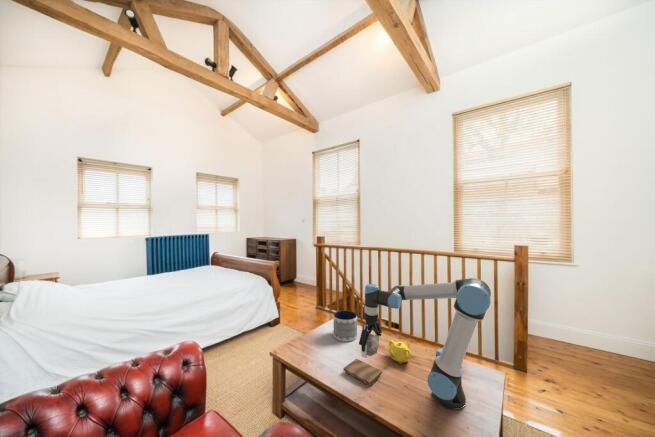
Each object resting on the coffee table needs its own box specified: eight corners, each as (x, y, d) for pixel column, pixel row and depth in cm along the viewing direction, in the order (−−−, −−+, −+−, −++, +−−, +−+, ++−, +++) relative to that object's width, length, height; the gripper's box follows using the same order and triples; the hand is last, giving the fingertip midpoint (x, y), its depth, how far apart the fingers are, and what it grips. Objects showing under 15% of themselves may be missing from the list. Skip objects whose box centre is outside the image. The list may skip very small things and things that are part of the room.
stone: (359, 359, 125) (359, 341, 125) (365, 346, 139) (365, 329, 139) (376, 363, 122) (376, 344, 122) (380, 349, 136) (380, 331, 136)
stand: (382, 376, 137) (382, 371, 137) (369, 388, 127) (369, 382, 127) (356, 363, 149) (356, 358, 149) (343, 373, 139) (343, 368, 139)
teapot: (399, 348, 166) (399, 332, 166) (421, 361, 151) (421, 343, 151) (378, 357, 155) (378, 340, 155) (400, 372, 140) (400, 353, 140)
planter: (350, 344, 171) (350, 321, 171) (329, 337, 181) (329, 316, 181) (361, 334, 186) (361, 313, 186) (340, 328, 196) (340, 308, 196)
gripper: (376, 305, 143) (376, 340, 143) (352, 317, 124) (351, 358, 124) (388, 308, 138) (387, 345, 138) (364, 322, 119) (364, 364, 119)
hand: (370, 351), depth 131 cm, fingers closed on stone, 13 cm apart
